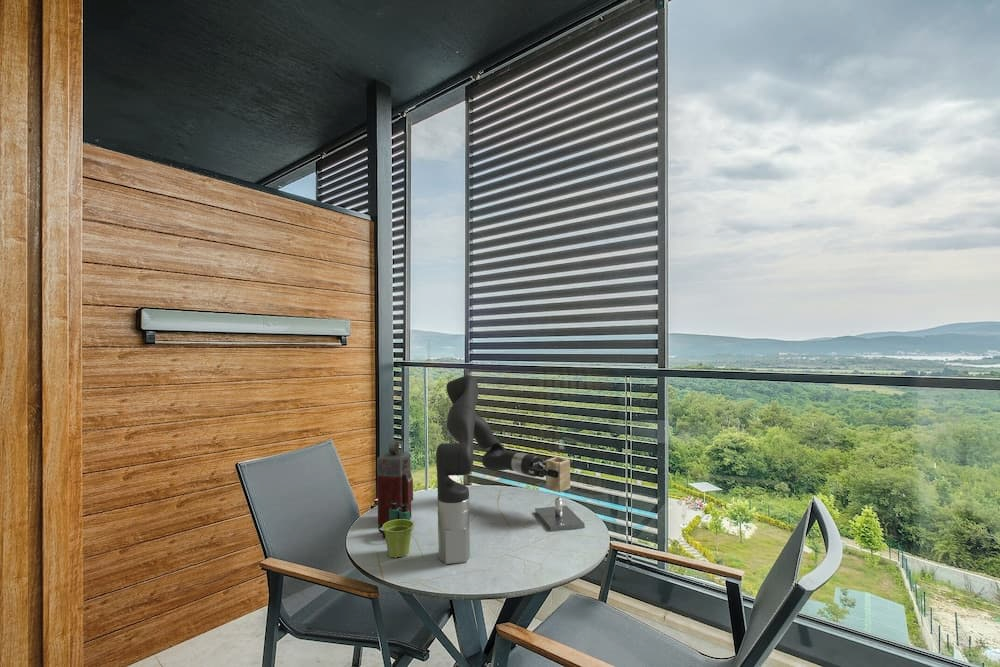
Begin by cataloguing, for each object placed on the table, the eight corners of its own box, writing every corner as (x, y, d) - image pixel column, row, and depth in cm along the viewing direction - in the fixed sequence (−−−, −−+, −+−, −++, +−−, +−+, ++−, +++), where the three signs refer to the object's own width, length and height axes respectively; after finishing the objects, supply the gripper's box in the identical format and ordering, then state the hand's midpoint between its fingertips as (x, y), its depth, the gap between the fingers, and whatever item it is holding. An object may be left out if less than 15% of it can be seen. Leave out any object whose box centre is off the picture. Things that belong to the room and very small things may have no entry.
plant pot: (420, 550, 152) (420, 521, 152) (402, 563, 143) (401, 533, 143) (395, 545, 156) (395, 517, 156) (375, 557, 147) (375, 528, 147)
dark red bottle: (408, 526, 170) (406, 444, 170) (377, 524, 172) (376, 443, 173) (417, 517, 179) (416, 439, 179) (388, 515, 181) (387, 438, 181)
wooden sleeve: (570, 488, 175) (569, 459, 175) (560, 492, 170) (559, 463, 170) (556, 484, 179) (556, 456, 179) (546, 488, 174) (545, 460, 174)
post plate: (584, 527, 167) (584, 504, 167) (550, 531, 164) (549, 507, 164) (566, 509, 184) (566, 488, 184) (535, 512, 182) (534, 491, 182)
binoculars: (372, 510, 160) (394, 497, 168) (375, 541, 160) (397, 528, 169) (392, 514, 155) (414, 502, 163) (395, 547, 156) (417, 533, 164)
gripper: (513, 457, 179) (551, 466, 167) (538, 450, 189) (575, 457, 178) (513, 478, 179) (551, 488, 168) (538, 470, 189) (575, 478, 178)
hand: (563, 472), depth 173 cm, fingers closed on wooden sleeve, 6 cm apart
